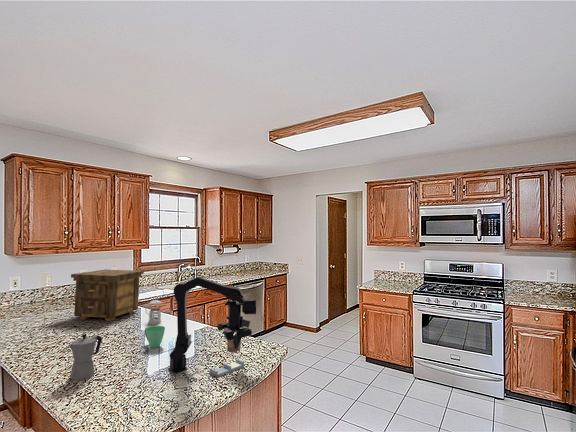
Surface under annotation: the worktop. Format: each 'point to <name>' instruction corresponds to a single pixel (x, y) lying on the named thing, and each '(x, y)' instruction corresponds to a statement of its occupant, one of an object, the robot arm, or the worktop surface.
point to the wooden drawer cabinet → (106, 293)
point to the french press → (156, 309)
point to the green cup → (154, 335)
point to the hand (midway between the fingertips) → (233, 347)
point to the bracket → (227, 368)
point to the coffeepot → (84, 357)
